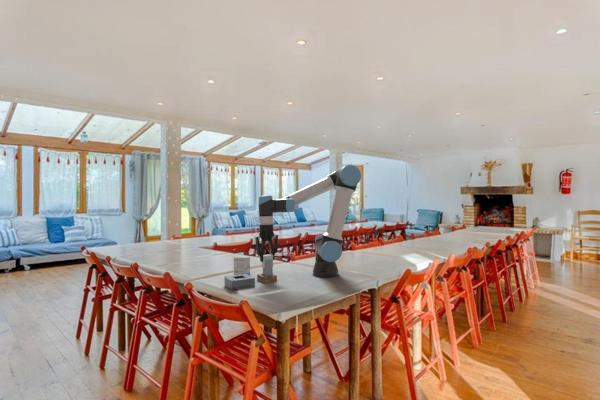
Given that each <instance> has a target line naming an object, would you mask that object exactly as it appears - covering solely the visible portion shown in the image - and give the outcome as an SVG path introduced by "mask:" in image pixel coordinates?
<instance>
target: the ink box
mask: <svg viewBox="0 0 600 400" xmlns="http://www.w3.org/2000/svg"><path fill="white" fill-rule="evenodd" d="M239 274H248V275H250V276H251V257H250V256H234V257H233V275H239Z"/></svg>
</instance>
